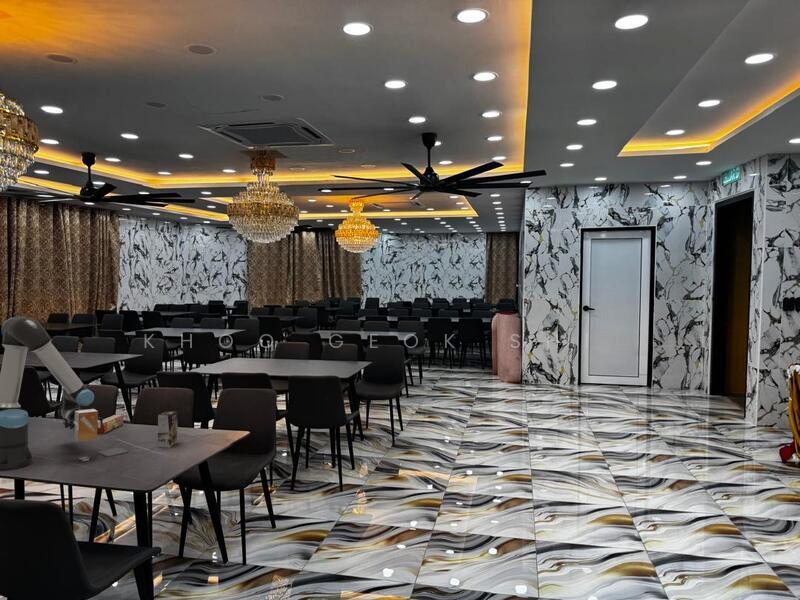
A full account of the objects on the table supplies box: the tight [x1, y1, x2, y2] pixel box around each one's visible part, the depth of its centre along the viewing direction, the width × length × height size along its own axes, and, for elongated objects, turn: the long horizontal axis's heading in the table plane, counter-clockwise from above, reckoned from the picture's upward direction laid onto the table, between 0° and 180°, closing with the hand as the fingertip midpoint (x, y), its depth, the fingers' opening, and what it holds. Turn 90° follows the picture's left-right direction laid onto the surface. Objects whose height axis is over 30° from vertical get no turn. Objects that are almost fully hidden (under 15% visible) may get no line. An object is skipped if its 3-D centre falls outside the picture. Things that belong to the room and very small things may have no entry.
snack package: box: [97, 414, 124, 435], centre depth 309 cm, size 21×7×7 cm, turn 0°
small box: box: [73, 408, 99, 443], centre depth 256 cm, size 8×6×13 cm
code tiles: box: [78, 456, 90, 462], centre depth 256 cm, size 4×6×1 cm, turn 52°
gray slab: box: [96, 446, 130, 458], centre depth 266 cm, size 10×10×1 cm
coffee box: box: [157, 410, 178, 449], centre depth 280 cm, size 9×6×16 cm
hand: (88, 426), depth 253 cm, fingers closed on small box, 8 cm apart
